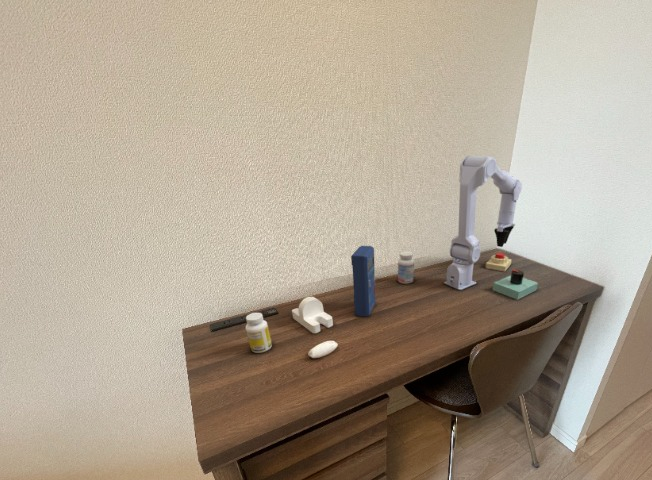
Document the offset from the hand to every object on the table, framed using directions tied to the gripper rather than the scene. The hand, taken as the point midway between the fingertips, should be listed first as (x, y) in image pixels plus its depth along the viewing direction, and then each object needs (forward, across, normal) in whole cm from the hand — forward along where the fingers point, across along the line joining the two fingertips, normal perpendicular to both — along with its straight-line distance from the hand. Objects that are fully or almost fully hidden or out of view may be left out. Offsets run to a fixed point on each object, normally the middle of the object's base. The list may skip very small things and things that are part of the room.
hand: (501, 244), depth 132 cm
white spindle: (+10, -86, +22) cm, 89 cm away
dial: (+6, -21, -11) cm, 25 cm away
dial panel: (+9, -21, -11) cm, 26 cm away
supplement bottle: (+10, -93, +38) cm, 101 cm away
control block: (+9, 0, 0) cm, 9 cm away
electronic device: (+10, -61, +26) cm, 67 cm away
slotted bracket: (+10, -75, +36) cm, 84 cm away
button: (+6, 0, 0) cm, 6 cm away
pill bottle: (+10, -34, +26) cm, 44 cm away
